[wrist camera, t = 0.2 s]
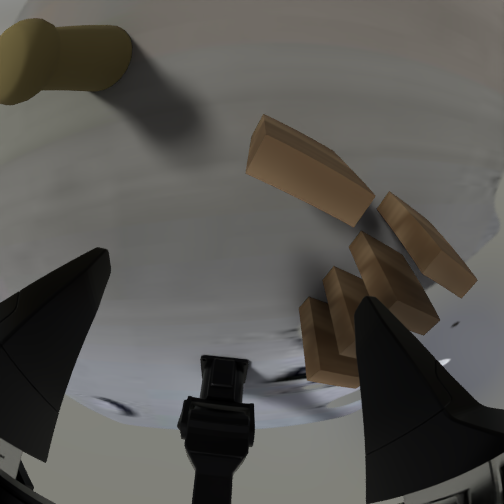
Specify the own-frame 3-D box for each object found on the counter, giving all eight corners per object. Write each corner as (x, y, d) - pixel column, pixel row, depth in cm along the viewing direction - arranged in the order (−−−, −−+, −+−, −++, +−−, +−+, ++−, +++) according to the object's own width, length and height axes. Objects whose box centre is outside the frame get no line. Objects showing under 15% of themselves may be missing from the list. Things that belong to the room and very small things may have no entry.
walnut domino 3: (340, 322, 31) (355, 388, 23) (298, 308, 29) (306, 380, 22) (351, 312, 30) (369, 379, 22) (308, 296, 28) (320, 369, 21)
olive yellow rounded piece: (140, 23, 14) (48, -3, 5) (124, 93, 17) (26, 117, 8) (80, 28, 13) (-17, 25, 4) (67, 91, 16) (-30, 120, 7)
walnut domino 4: (417, 236, 24) (461, 298, 16) (376, 209, 22) (422, 273, 15) (428, 221, 22) (477, 280, 15) (389, 191, 21) (441, 250, 14)
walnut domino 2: (364, 297, 28) (387, 365, 21) (322, 280, 27) (339, 354, 20) (376, 285, 27) (403, 353, 20) (333, 266, 26) (355, 340, 18)
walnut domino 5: (390, 268, 26) (423, 335, 19) (348, 246, 25) (378, 319, 17) (402, 254, 25) (440, 320, 17) (361, 230, 24) (397, 300, 16)
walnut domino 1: (320, 171, 21) (353, 227, 13) (251, 136, 19) (245, 173, 12) (332, 150, 20) (375, 195, 12) (263, 113, 18) (265, 134, 11)
